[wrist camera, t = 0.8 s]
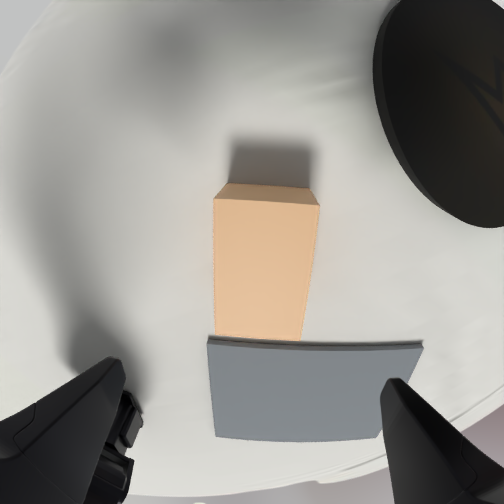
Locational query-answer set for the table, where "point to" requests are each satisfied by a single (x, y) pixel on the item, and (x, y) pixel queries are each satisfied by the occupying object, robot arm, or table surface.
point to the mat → (302, 389)
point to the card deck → (262, 259)
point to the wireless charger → (446, 102)
